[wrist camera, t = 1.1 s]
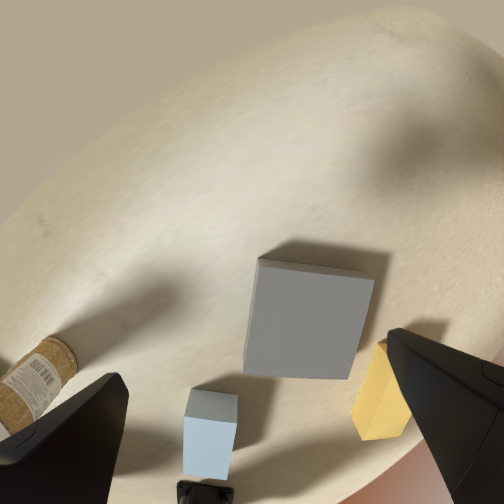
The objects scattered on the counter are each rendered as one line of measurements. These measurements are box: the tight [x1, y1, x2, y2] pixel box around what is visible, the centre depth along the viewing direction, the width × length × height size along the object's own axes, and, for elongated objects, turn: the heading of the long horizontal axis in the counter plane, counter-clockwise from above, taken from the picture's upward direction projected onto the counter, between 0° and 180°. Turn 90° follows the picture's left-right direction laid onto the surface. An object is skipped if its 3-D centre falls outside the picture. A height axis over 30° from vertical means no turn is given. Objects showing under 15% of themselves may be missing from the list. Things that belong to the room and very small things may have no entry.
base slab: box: [243, 258, 375, 379], centre depth 22 cm, size 8×8×3 cm
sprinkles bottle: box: [0, 337, 77, 441], centre depth 17 cm, size 5×5×14 cm
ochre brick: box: [351, 343, 412, 441], centre depth 23 cm, size 8×4×4 cm, turn 171°
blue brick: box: [183, 388, 238, 480], centre depth 23 cm, size 8×4×4 cm, turn 172°
